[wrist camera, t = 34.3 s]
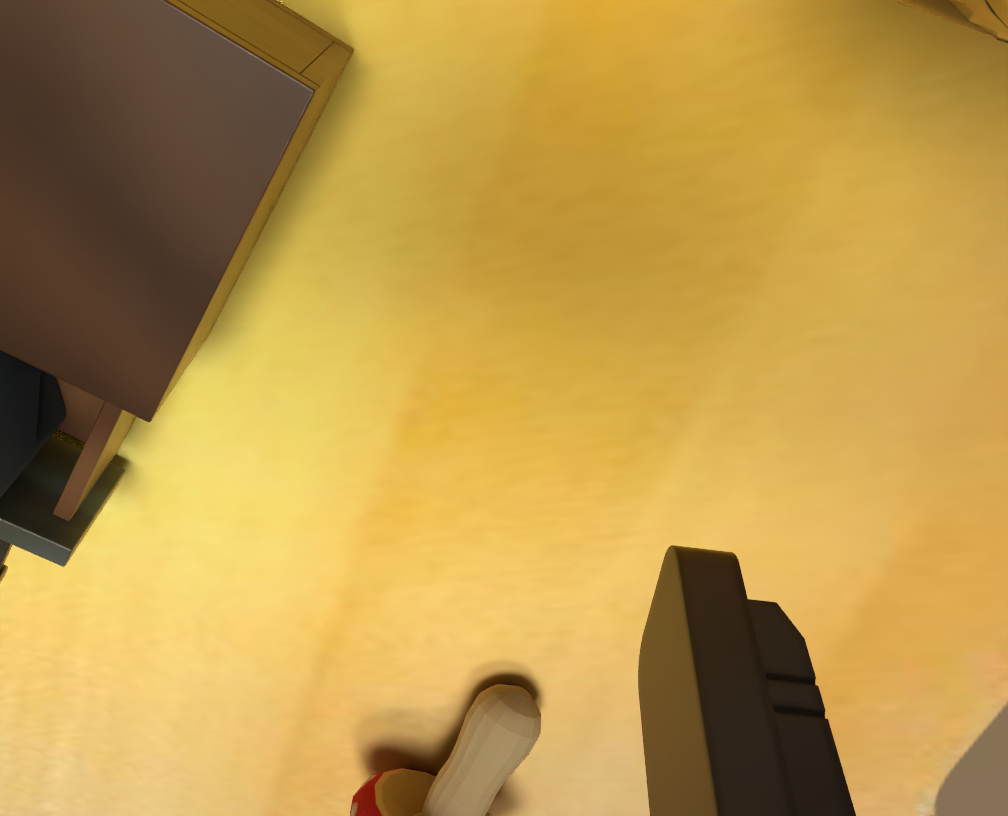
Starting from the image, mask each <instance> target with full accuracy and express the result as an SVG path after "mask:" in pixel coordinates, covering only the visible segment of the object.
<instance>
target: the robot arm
mask: <svg viewBox="0 0 1008 816" xmlns="http://www.w3.org/2000/svg"><path fill="white" fill-rule="evenodd" d="M894 1H896V2H899V3H902V4H905V5H908V6H910V7H913V8H916V9H919V10H922V11H924V12H927V13H930V14H933V15H936V16H938V17H941V18H944V19H947V20H949V21H952V22H955V23H958V24H961V25H963V26H966V27H969V28H972V29H975V30H977V31H980V32H983V33H986V34H989V35H991V36H993V37H995V38H996V39H997V40H1000V41H1002V42H1005V43H1008V0H894ZM815 679H816V677H815V673H814V670H813V667H812V663H811V660H810V656H809V653H808V649H807V646H806V643H805V639H804V638H803V636H802V635H801V634H800V632H799V631H798V630H797V628H796V627H795V626H794V625H793V623H792V622H791V621H790V619H789V618H788V617H787V616H786V614H785V613H784V612H783V610H782V609H781V608H780V606H779V605H778V604H777V603H775V602H767V601H758V600H750V599H747V595H746V591H745V586H744V582H743V578H742V574H741V569H740V565H739V562H738V559H737V557H736V555H735V554H734V553H732V552H724V551H715V550H707V549H698V548H690V547H681V546H673V545H672V546H670V547H669V548H668V550H667V552H666V554H665V557H664V560H663V564H662V568H661V571H660V575H659V579H658V582H657V586H656V589H655V593H654V597H653V600H652V604H651V608H650V611H649V615H648V618H647V622H646V626H645V629H644V633H643V637H642V642H641V648H640V656H639V670H638V688H639V700H640V711H641V721H642V732H643V743H644V754H645V765H646V776H647V787H648V798H649V808H650V816H856V814H855V811H854V807H853V804H852V800H851V797H850V793H849V790H848V787H847V783H846V780H845V776H844V773H843V769H842V766H841V763H840V759H839V756H838V752H837V749H836V745H835V742H834V739H833V735H832V732H831V728H830V725H829V721H828V719H825V708H824V704H823V701H822V697H821V694H820V691H819V687H818V686H816V685H815Z"/></svg>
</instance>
